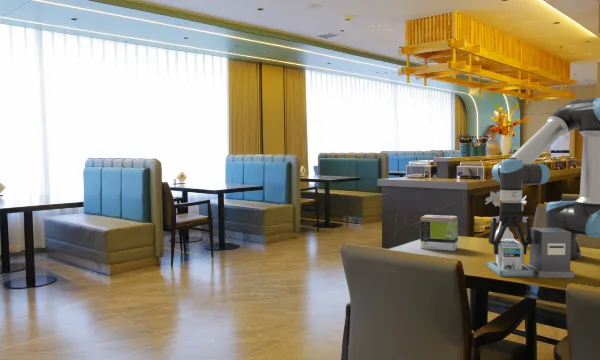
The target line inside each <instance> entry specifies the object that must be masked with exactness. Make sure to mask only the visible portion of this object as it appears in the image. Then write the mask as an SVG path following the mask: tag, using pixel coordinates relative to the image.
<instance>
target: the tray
mask: <svg viewBox="0 0 600 360" xmlns="http://www.w3.org/2000/svg"><path fill="white" fill-rule="evenodd" d="M486 268H488V269H489V270H490V271H492V272H493V273H495V274H496V275H497V276H498V277H500V278H501V277H511V278H512V277H514V278H515V277H520V278H521V277H523V278H524V277H527V278H530V277H532V278H533V277H534V278H535V277H536V276H535V271H534V270H532V269H530V268H528V267H527V266H526V264H522V270H501V269H500V268H499V267H498V266H497V263H496V261H486Z"/></svg>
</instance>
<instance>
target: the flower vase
mask: <svg viewBox="0 0 600 360" xmlns="http://www.w3.org/2000/svg"><path fill="white" fill-rule="evenodd" d="M526 198H527V195H525V196H523V197H522V201H520V202H521V203H522V212H524V206H525V205H526V204H527V200H526ZM485 201H486V202H485V205H488V204H489V203H491V202H492V205H494V207H499V208H500V202H502V201H501V200H500V190H499V191H497V192H495V191H494V192H493V191H490V194H489V196H488V197H486V198H485ZM501 223H502V222H501V221H500V220H499V224H498V227H497V228H496V234H495V238H496V236H497V233H498V231H499V229H500V225H501ZM509 228H510V227H507V229H506V230H505V232H504V234H503V236H502V239H515V238H514V233H513V232H512V231H511V230H510V229H509ZM494 240H495V239H494Z"/></svg>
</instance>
